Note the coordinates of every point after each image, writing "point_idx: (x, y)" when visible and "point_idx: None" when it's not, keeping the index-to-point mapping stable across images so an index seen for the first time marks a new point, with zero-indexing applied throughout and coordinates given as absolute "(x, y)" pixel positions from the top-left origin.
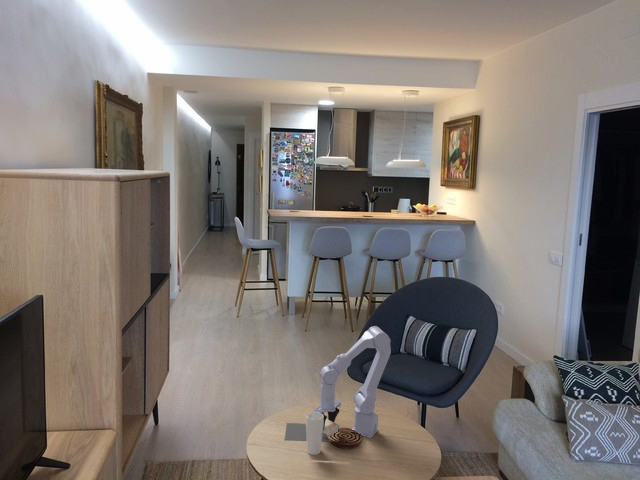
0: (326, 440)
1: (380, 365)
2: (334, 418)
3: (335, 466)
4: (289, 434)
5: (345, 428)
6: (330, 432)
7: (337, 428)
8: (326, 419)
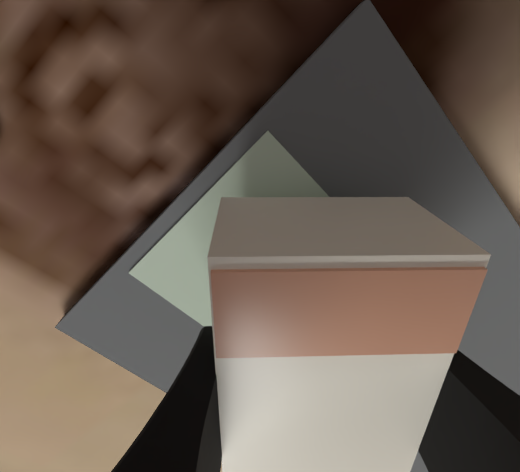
0: (442, 182)
1: None
2: (180, 446)
3: None
4: None
5: (12, 244)
6: (411, 217)
7: (232, 222)
8: (239, 468)
